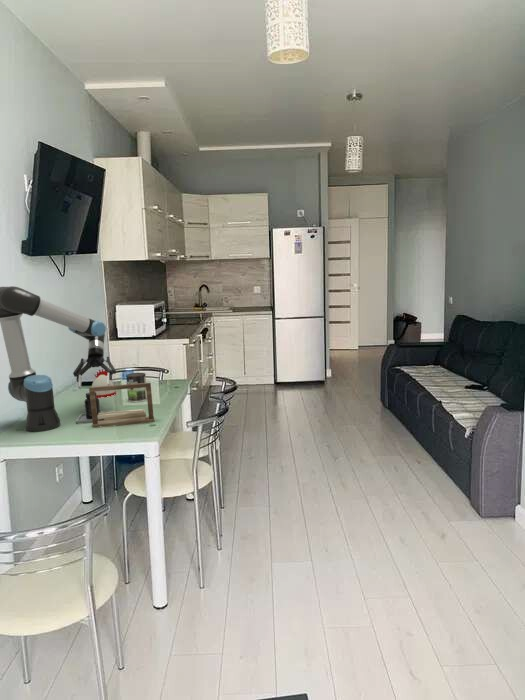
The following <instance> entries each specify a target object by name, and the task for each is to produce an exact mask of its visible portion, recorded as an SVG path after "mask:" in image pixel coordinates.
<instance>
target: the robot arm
mask: <svg viewBox="0 0 525 700" xmlns="http://www.w3.org/2000/svg"><path fill="white" fill-rule="evenodd" d="M23 314H24V315H28V316H30V317H33V316H36V317H40V318H43V319H44V320H48V321H51V322H53V323H56V324H59V325H61V326H64V327H67V328H68V330H69V331H70V332H71V333H74V334H76V335H78V336H80V337H82V338H84V339H86V340H87V341H88V350H87V358H85V359H84V358H83V357H82V358H81V359H80V362H79V364H78V365H77V366H76V368H75V369H74V371H73V373H72V374H73V377H75V378H76V382H77V384H78V386H77V387H78V389H80V390H81V389H82V382H83V381H82V380H83V377H82V376H83V375H84V374H85V373H86V372H87V371H88V370H90V369H91V368H99V367H101V368H102V369H103V371H104V372H105V371H106V372H108V375H107V385H108V386H110V380H112V381H113V375H116V374H117V370H116V368H115V366H114V365H113V362H111V358H110V356H106V357H105V358H104V354H105V353H104V351H105V337H106V334H105V333H106V330H107V328H106V327H107V326H106V325H105V323H104V322H103V321H100V320H95V319H92V318H88V317H86V316H84V315H82V314H80V313H77V312H74V311H71V310H68V309H66V308H64V307H61V306H59V305H57V304H54V303H51V302H49V301H46V300H45V299H42V298H41V296H40V295H37V294H35V293H32V292H30V291H28V290H25V289H24V288H21V287H19V286H15V285H14V286H0V327H1V333H2V335H3V341H4V345H5V350H6V354H7V358H8V363H9V366H10V373H9V375H8V379H9V382H8V385H7V389H8V393H9V394H10V396H11V397H12V398H13V399H15V400H17V401H20V402H25V403H26V411H27V414H26V420H25V424H24V429H26V430H28V431H27V432H32V431H36V432H43V431H50V430H53V429H56V428H58V427H60V426H61V424H62V423H61V419H60V417H59V415H58V412H57V411H56V406H55V399H54V397H55V396H54V389H53V386H54V385H53V381H52V378H51V377H50V376H48V375H45V374H37V372H36V370H35V369H33V368H32V366H31V362H30V357H29V353H28V347H27V344H26V339H25V335H24V330H23V326H22V320H21V318H22V316H23ZM104 362H105V363H107V365H108V366H109V367H108V366H107V365H106V364H105V363H104ZM26 430H25V431H26Z"/></svg>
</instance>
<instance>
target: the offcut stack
mask: <svg viewBox="0 0 525 700" xmlns="http://www.w3.org/2000/svg"><path fill="white" fill-rule="evenodd" d="M104 412H105V413H99V414H98V416H97V417H98V418H99V420H98V424H108V423H119V422H130V421H141V420H146V417H147V413H146V411H145V410H144V408H142V409H141V408H140V409H129V410H118V411H117V410H116V411H109V412H106V411H104Z"/></svg>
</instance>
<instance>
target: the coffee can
mask: <svg viewBox="0 0 525 700" xmlns="http://www.w3.org/2000/svg"><path fill="white" fill-rule="evenodd" d="M146 375H147V374H146V373H145V372H133V373H127V374H126V375H125V377H126V379H125V380H126V384H139V383H147V379H146V378H147V376H146ZM126 390H127V399H128V401H127V402H128V403H141V402H140V401H142V402H145V401H144V400H146V401H147V391H146V387H142V388H130V389H126Z"/></svg>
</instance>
